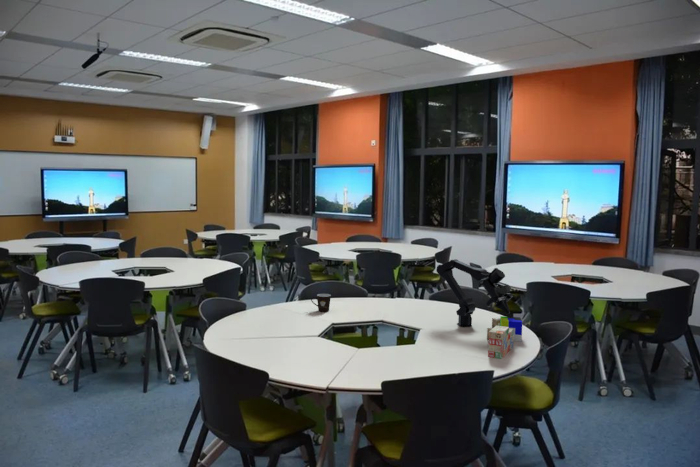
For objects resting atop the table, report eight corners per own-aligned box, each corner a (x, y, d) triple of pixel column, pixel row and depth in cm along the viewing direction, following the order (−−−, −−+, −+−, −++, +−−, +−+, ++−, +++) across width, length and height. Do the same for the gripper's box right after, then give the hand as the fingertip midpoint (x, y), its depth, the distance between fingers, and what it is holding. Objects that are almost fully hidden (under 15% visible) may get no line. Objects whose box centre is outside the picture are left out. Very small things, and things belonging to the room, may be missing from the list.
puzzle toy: (521, 341, 268) (522, 322, 267) (501, 339, 270) (501, 320, 269) (519, 335, 278) (520, 317, 277) (499, 334, 280) (500, 316, 279)
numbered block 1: (496, 331, 286) (496, 320, 286) (491, 328, 291) (492, 317, 291) (504, 330, 287) (505, 319, 287) (500, 328, 292) (500, 317, 292)
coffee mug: (333, 310, 328) (333, 294, 328) (325, 313, 321) (325, 297, 320) (318, 308, 335) (318, 292, 334) (310, 310, 327) (310, 294, 327)
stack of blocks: (500, 345, 261) (501, 321, 260) (513, 347, 258) (514, 322, 257) (487, 357, 243) (488, 330, 242) (501, 359, 240) (502, 333, 239)
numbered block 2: (491, 342, 265) (492, 330, 265) (486, 339, 271) (487, 327, 270) (500, 342, 266) (501, 330, 266) (495, 339, 271) (496, 327, 271)
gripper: (491, 282, 272) (510, 306, 265) (510, 278, 285) (528, 301, 278) (478, 294, 279) (495, 319, 272) (497, 290, 291) (514, 313, 284)
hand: (509, 312), depth 276 cm, fingers closed
